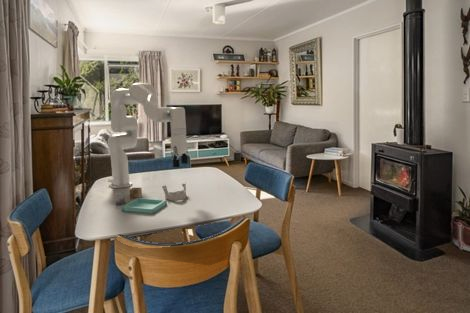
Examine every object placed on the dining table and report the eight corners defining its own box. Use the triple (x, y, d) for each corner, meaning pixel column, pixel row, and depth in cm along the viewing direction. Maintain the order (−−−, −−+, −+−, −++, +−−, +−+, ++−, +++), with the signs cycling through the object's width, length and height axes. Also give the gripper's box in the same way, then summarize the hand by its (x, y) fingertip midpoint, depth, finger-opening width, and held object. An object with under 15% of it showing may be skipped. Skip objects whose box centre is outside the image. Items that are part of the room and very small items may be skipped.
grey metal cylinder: (113, 204, 164) (112, 194, 163) (119, 202, 169) (118, 191, 168) (121, 205, 163) (120, 194, 162) (127, 202, 168) (126, 192, 167)
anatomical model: (167, 202, 164) (164, 182, 166) (164, 204, 174) (161, 186, 176) (192, 198, 169) (189, 179, 171) (187, 201, 179) (184, 183, 181)
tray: (122, 211, 154) (121, 206, 154) (138, 202, 168) (138, 197, 167) (152, 214, 150) (152, 209, 150) (166, 204, 163) (166, 200, 163)
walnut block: (129, 199, 173) (129, 190, 173) (132, 196, 178) (132, 187, 177) (139, 199, 173) (138, 190, 172) (142, 196, 178) (141, 187, 177)
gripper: (179, 130, 173) (181, 162, 176) (163, 133, 157) (166, 168, 160) (192, 130, 171) (194, 162, 174) (177, 133, 155) (180, 169, 158)
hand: (180, 165), depth 167 cm, fingers open, 9 cm apart
